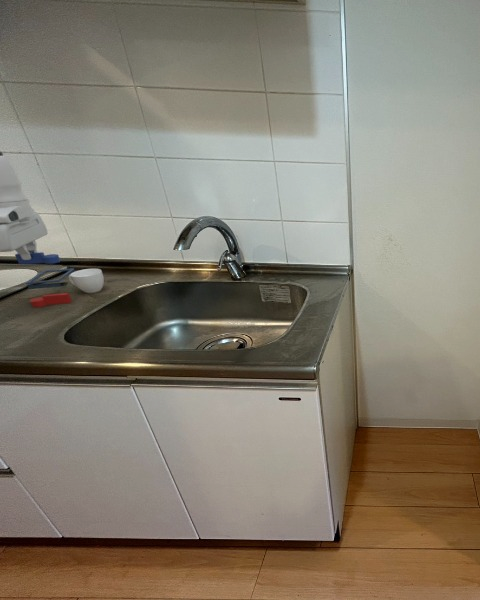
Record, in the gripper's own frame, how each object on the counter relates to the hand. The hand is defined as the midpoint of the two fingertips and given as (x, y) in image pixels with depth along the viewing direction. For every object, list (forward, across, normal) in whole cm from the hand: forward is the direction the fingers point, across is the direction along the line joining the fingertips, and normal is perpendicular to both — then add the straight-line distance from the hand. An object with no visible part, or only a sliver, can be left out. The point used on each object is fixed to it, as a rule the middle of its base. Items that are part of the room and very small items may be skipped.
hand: (30, 257), depth 92 cm
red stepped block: (+15, +2, +1) cm, 15 cm away
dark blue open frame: (+15, -18, -6) cm, 24 cm away
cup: (+15, -6, +8) cm, 18 cm away
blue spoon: (+2, 0, +2) cm, 2 cm away
